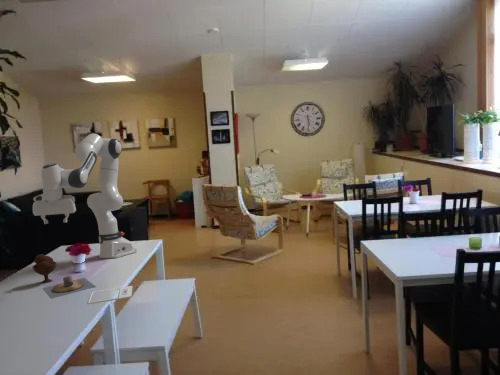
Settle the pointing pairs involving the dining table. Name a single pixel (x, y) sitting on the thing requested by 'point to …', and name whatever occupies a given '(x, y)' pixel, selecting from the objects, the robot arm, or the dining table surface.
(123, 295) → the photo frame
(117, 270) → the dining table surface
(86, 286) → the rubber mat
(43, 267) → the ice cream bowl
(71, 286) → the walnut lid
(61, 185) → the robot arm
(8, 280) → the dining table surface
